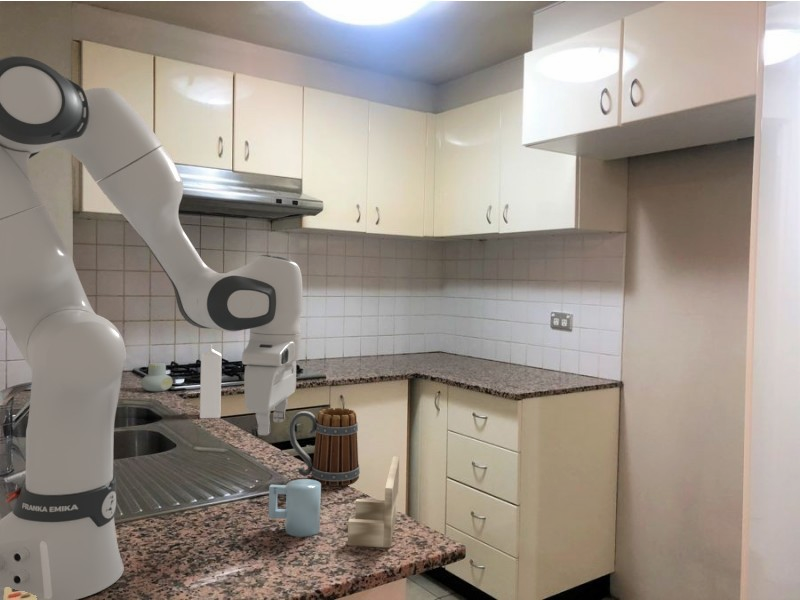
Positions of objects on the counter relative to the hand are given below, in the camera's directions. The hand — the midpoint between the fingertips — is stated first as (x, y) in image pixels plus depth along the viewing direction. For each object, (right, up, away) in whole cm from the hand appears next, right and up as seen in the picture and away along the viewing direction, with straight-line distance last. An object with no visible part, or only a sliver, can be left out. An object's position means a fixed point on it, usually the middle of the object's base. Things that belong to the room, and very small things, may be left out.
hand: (271, 427), depth 107 cm
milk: (-36, -14, +81) cm, 89 cm away
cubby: (+18, -18, +4) cm, 26 cm away
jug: (+4, -18, +1) cm, 18 cm away
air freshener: (-67, -11, +117) cm, 135 cm away
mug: (+6, -17, +27) cm, 33 cm away
